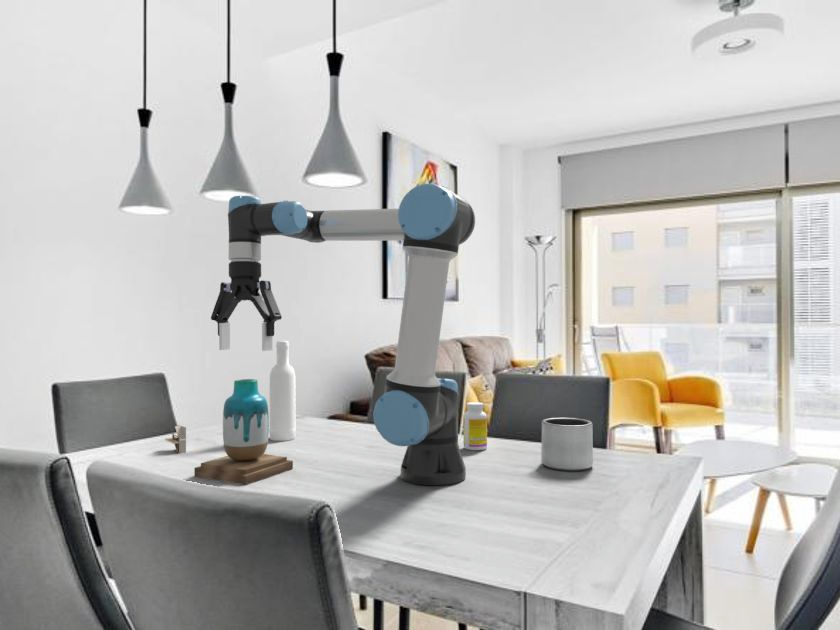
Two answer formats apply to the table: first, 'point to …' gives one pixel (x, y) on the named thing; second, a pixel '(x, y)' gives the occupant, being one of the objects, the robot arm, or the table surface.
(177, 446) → the architectural model
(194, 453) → the table surface
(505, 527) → the table surface
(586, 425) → the planter
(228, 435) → the vase
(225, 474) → the pedestal
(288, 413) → the bottle
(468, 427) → the supplement bottle
